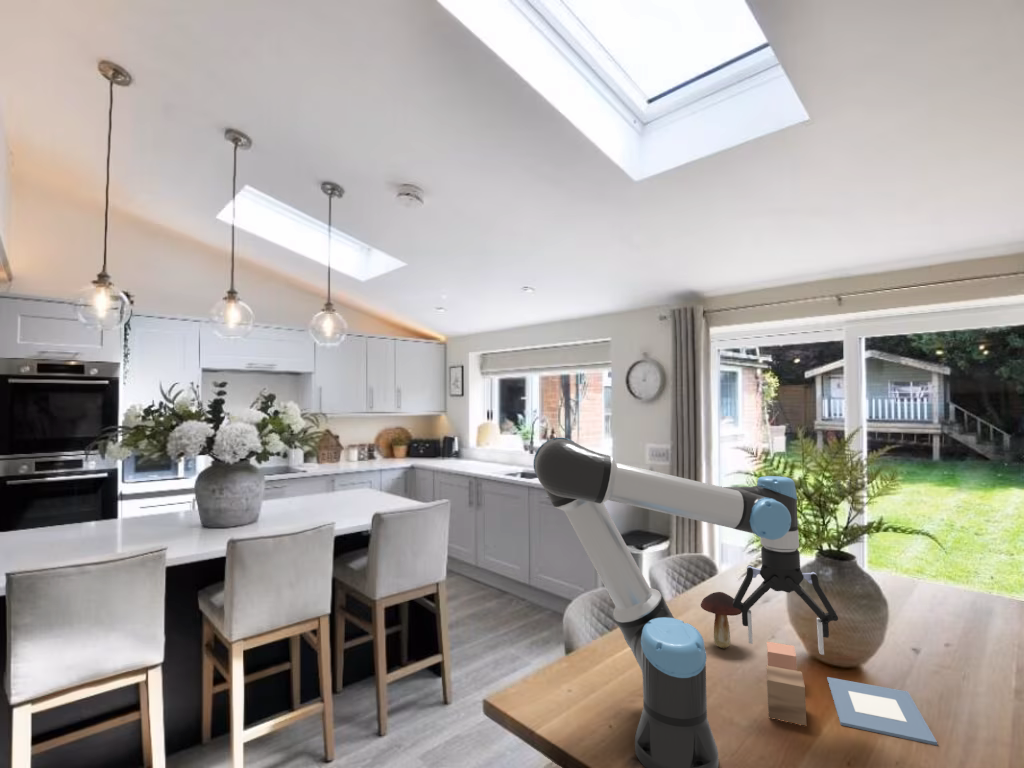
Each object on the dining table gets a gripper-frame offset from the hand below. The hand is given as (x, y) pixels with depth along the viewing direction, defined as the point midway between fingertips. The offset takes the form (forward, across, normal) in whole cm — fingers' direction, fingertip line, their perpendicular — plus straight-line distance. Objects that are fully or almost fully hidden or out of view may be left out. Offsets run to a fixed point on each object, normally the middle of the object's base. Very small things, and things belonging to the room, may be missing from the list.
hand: (785, 646), depth 111 cm
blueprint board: (+14, -18, -10) cm, 25 cm away
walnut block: (+14, 0, 0) cm, 14 cm away
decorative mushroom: (+14, +14, -28) cm, 34 cm away
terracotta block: (+14, 0, -14) cm, 20 cm away
